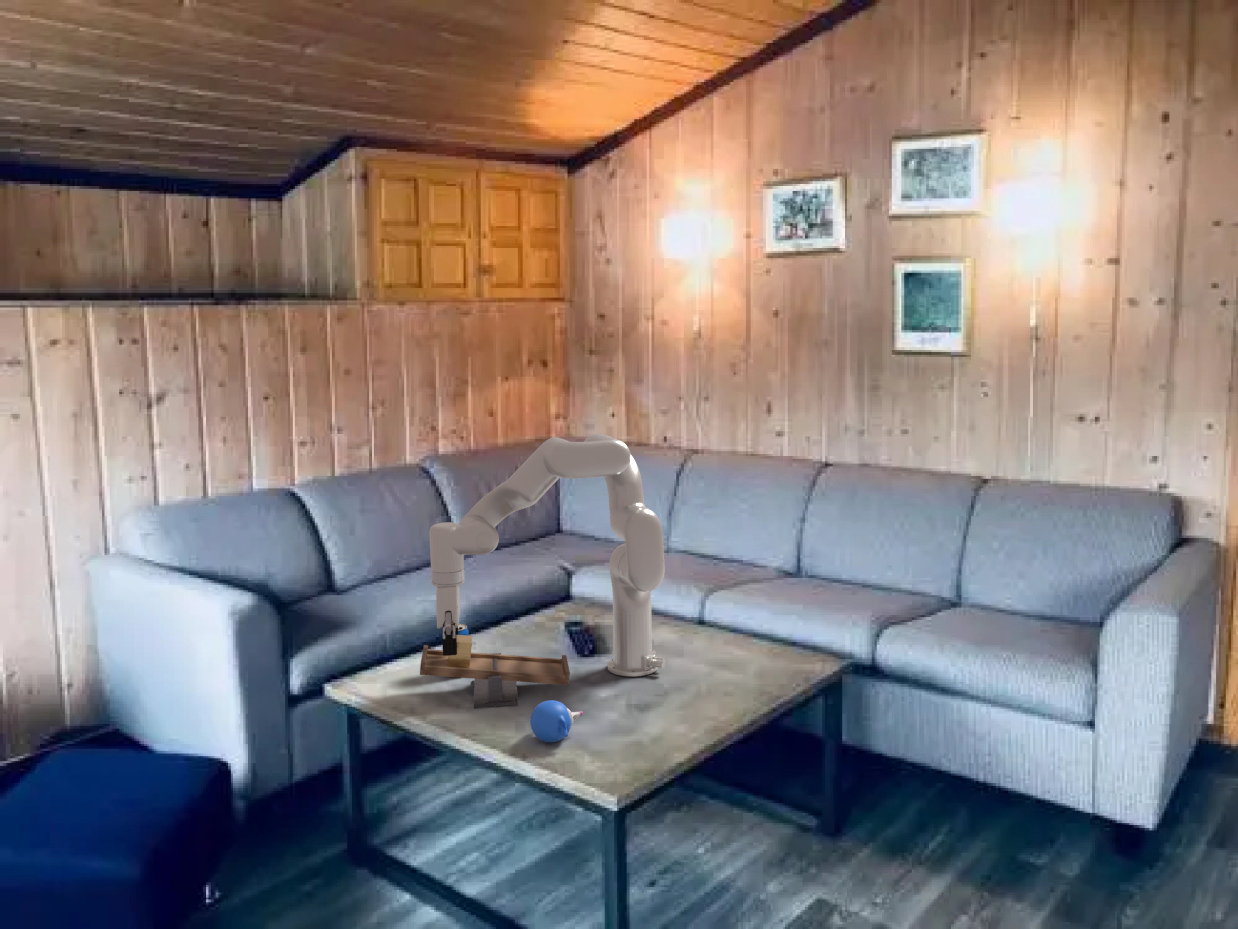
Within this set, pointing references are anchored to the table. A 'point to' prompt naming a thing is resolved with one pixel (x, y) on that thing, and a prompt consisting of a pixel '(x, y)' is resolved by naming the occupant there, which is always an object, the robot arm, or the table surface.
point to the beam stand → (495, 692)
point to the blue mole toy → (552, 720)
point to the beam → (498, 667)
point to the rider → (461, 652)
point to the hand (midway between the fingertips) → (450, 648)
